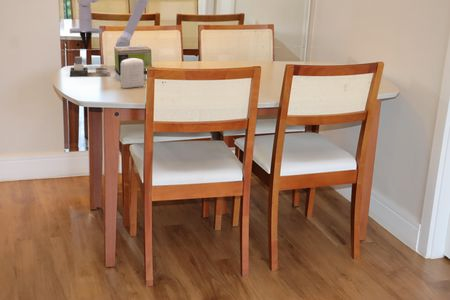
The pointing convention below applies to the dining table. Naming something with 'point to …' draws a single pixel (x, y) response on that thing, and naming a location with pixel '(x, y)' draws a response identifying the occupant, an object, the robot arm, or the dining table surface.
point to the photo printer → (132, 73)
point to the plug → (78, 64)
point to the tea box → (132, 52)
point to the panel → (84, 73)
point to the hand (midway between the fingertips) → (86, 48)
